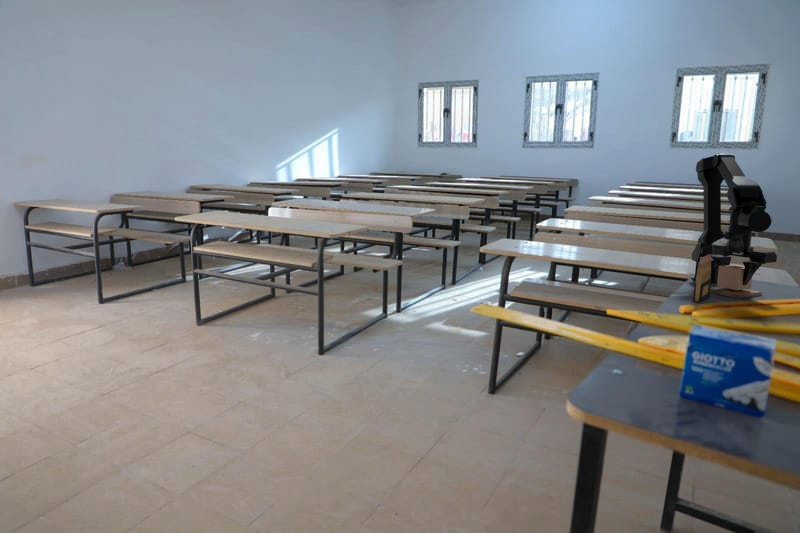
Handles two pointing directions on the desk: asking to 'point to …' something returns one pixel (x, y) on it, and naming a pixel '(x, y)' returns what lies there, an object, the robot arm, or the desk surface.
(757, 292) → the pin board
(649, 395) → the desk surface
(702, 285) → the ammunition clip
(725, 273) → the collar
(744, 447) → the desk surface
